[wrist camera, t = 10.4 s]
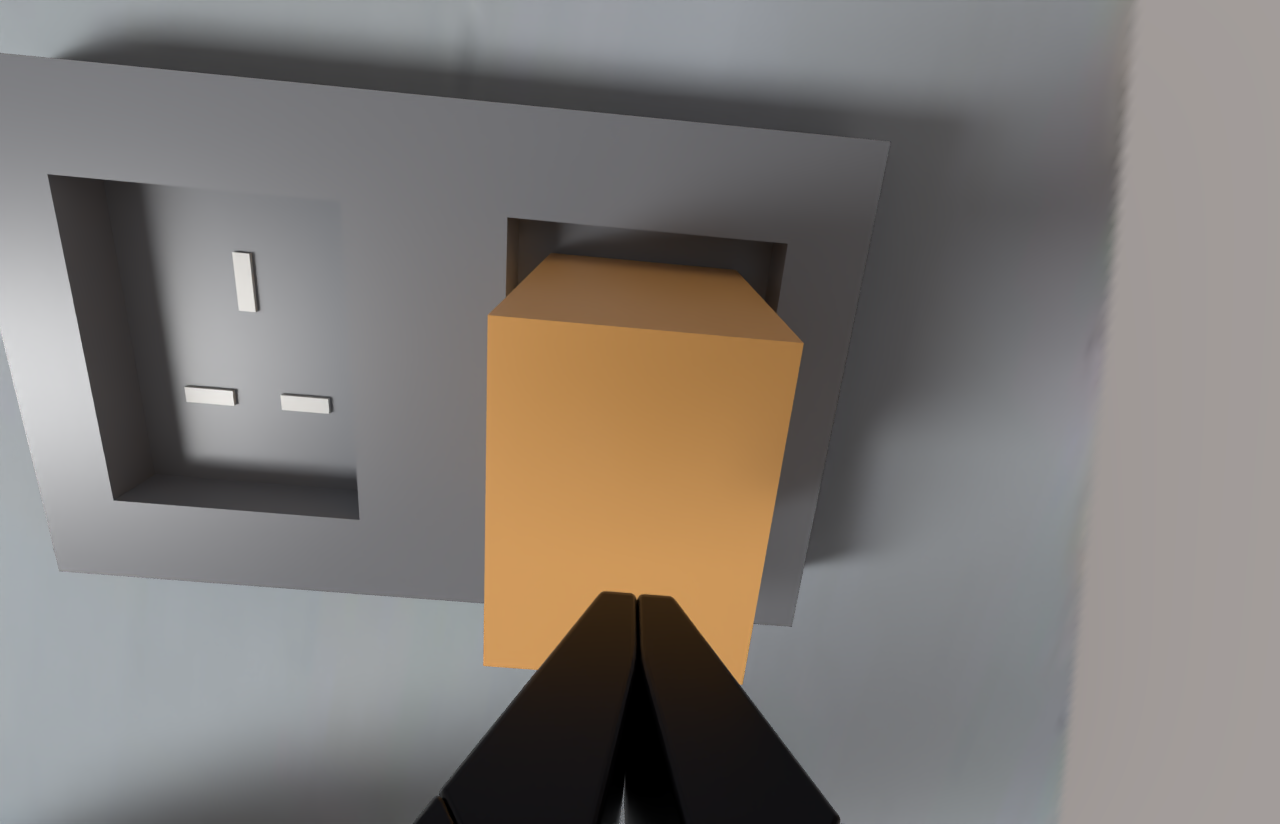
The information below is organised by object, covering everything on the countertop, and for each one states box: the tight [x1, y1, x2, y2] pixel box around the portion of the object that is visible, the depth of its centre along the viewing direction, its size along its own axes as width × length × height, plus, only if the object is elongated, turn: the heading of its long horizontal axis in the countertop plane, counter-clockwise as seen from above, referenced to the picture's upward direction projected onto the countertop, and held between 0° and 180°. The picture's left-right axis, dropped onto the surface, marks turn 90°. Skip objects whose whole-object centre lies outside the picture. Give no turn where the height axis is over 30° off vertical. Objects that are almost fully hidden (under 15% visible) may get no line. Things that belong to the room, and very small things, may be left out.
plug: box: [483, 253, 804, 685], centre depth 14 cm, size 4×9×7 cm, turn 175°
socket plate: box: [0, 53, 891, 627], centre depth 17 cm, size 19×12×2 cm, turn 85°
